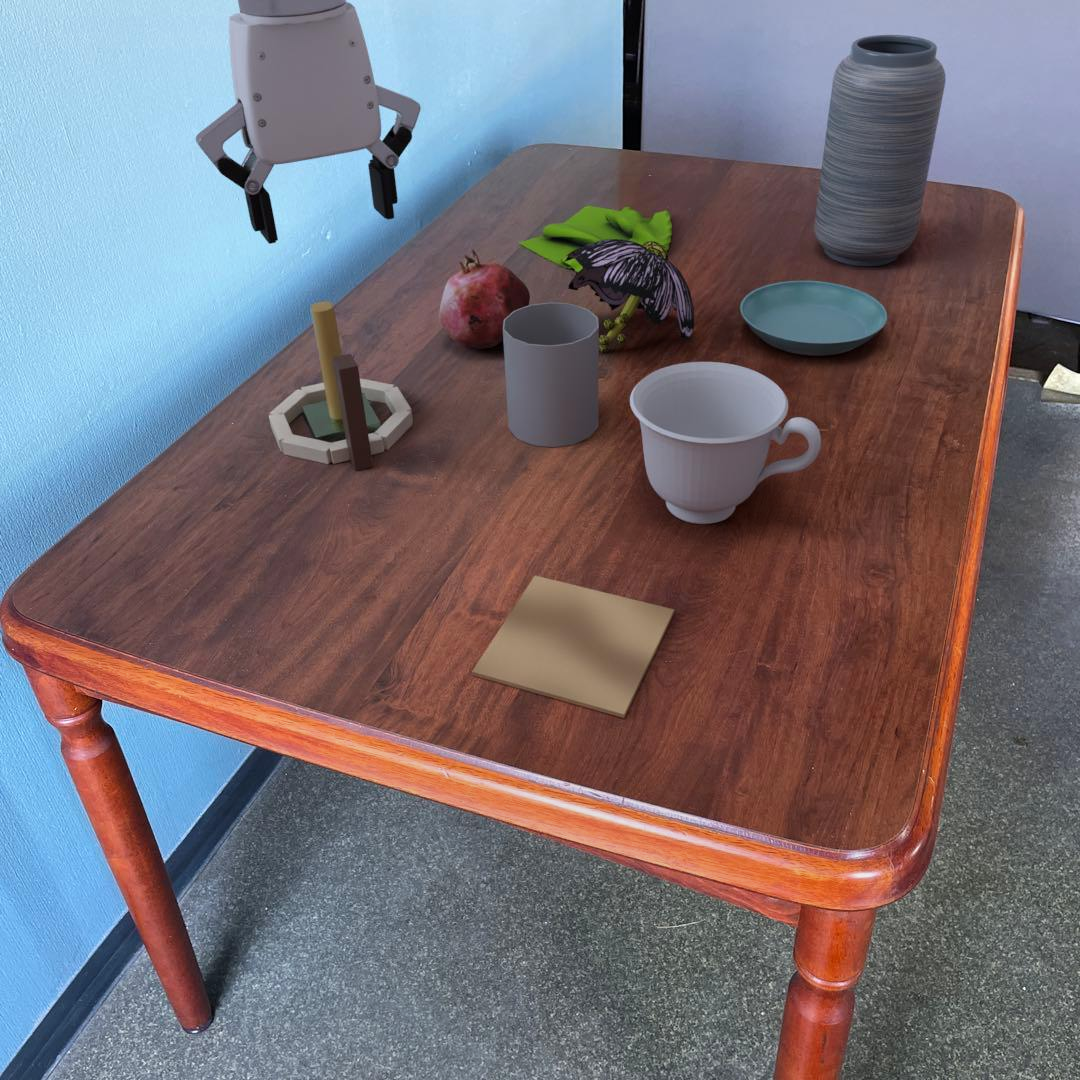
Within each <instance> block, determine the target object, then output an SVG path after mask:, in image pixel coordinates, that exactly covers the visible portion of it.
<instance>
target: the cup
mask: <svg viewBox="0 0 1080 1080" xmlns="http://www.w3.org/2000/svg"><path fill="white" fill-rule="evenodd" d="M599 331H600V330H599V317H598V316H597V315H596V314H594V313H593V312H592V311H591V310H590V309H588V308H585V307H582V306H579V305H577V304H574V303H573V304H572V303H564V302H553V301H552V302H551V301H550V302H543V303H534V304H529V306H526V307H523V308H521V309H518V310H515V311H513V312H512V313H511V314H510V315H509V316H508V317H506V318H505V319H504V323H503V341H502V342H503V355H504V357H503V358H504V375H505V390H506V408H507V424H508V425H507V426H508V427H507V428H508V431H510V433H511V434H512V435H513V436H514V437H515V438H516V439H517V440H518V441H521V442H524V443H526V444H528V445H530V446H536V447H545V448H558V447H565V446H566V447H567V446H573V445H576V444H578V443H580V442H582V441H585V440H587V439H589V438H591V437H592V436H593V434H594V433H595V432H596V431H597V429H598V428H599V367H600V365H599V361H600V359H599V351H600V350H599V344H600V343H599V337H600V335H599Z"/></svg>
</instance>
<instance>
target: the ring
mask: <svg viewBox="0 0 1080 1080" xmlns="http://www.w3.org/2000/svg"><path fill="white" fill-rule="evenodd" d="M332 359H333V365H334V371H335V377H336V383H337V389H338V395H339V401H340V407H341V413H342V419H343V425H344V431H345V437H346V439H345V440H341V441H337V442H333V443H330V442H326V441H321V440H316V439H314V438H313V437H308V436H307V437H306V436H302V435H297V434H293V431H292V429H291V427H290V423H292V422H293V421H294V420H295V419H297V417H299V416H300V415H301V414H303V411H302V406H305V405H310V404H314V403H319V402H323V401H327V399H326V393H325V387H324V382H320V383H315V384H310V385H306V386H301V387H300V389H298V388H297V389H295V390H294V391H293V392H292V393H291V394H289V395H288V396H287V397H286V398H285V399H284V400H283V401H282V402H280V403H279V404H278V405H277V406H275V408H273V409H272V410H271V411H269V415H268V419H269V424H270V429H271V431H272V432H273V436H274V438H275V441H276V443H277V447H278V448H279V451H280V452H281V453H283V455H285V456H289V457H294V458H299V459H302V460H306V461H307V460H308V461H311V462H316V463H321V464H325V465H330V464H331V463H332V464H333V465H336V464H339V463H344V462H349V461H350V462H351V465H352V467H353V468H354V470H355V472H357V471H362V470H365V469H369V468H373V467H374V464H373V463H374V462H373V457H372V456H373V455H377V454H381V453H384V452H385V450H386V451H389V450H390V449H391V448H392V447H393V446H394V445H395V443H397V441H398V440H399V439H400V438H401V437H402V436H403V435H404V434H405V433H406V432H407V431H408V430H409V429H410V428H411V427H412V426H413V422H414V419H413V410H412V408H411V406H410V404H409V403H408V401H407V400H406V398H405V397H404V395H403V393H402V392H401V390H400V388H399V386H396V385H395V384H391V383H387V382H382V381H376V380H371V379H366V378H360V377H361V376H360V371H359V365H358V363H357V362H356V360H355V359H354V357H353V355H352V353H346V354H342V355H341V356H336V357H332ZM362 393H364V394H365V396H366V398H367V400H368V401H369V402H370V401H372V402H376V403H382V404H386V406H387V407H388V409H389V411H390V412H391V415H390V417H388V419H386V420H385V421H384V422H383V423H382V425H381V427H380V428H379V429H378V430H377V431H376V432H375V433H371V434H368V430H367V423H366V416H365V410H364V403H363V397H362Z"/></svg>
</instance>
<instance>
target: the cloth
mask: <svg viewBox="0 0 1080 1080" xmlns="http://www.w3.org/2000/svg"><path fill="white" fill-rule="evenodd" d="M672 228H673V224H672V221H671V215H670V213H669V211H668V210H664V211H659V212H655V213H654V214H653V216H652V217H649V218H648V217H647V218H646V217H642V215H641V213H640V212H638V211H637V210H634V209H632V208H631V206H630V205H629V206H625V207H623V208H622V209H621V210H616V209H612V208H611V209H609V208H604V207H599V206H592V205H586V206H584V207H582V209H580V210H579V211H578V212H576V213H575V214H574V215H573V216H571V217H570V218H569V219H567V220H566V221H565V222H559V223H550V224H548V225H546V226H543V230H542V235H540V236H535V237H532V238H529V239H525V240H522V241H519V242H518V244H519V245H521V247H524V248H526V249H528V250H530V251H531V252H533V253H534V254H537V255H539V256H541V258H544V259H546V260H548V261H550V262H552V263H554V264H556V265H558V266H559V267H562V268H564V269H573V270H574V271H575V272H576V274H577V273H578V272H579V271H580V270H581V269H582V268H583V267H582V265H580V264H579V263H578V262H577V260H576V259H575V258H574V259H571V260H568V261H565V260H566V259H567V257H568V256H566V255H568V254H569V253H571V252H572V251H574V250H576V249H578V248H580V247H583V246H585V245H588V244H590V243H594V242H598V241H602V240H609V239H621V240H628V241H633V242H636V243H638V244H640V245H642V244H644V243H645V242H648V241H652V242H654V241H655V242H657V243H660V244H661V245H662V246H664V247H665V248H666V251H667V252H668V250H670V243H672V235H673V229H672ZM564 261H565V262H564Z"/></svg>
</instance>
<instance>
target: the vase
mask: <svg viewBox="0 0 1080 1080" xmlns="http://www.w3.org/2000/svg"><path fill="white" fill-rule="evenodd" d="M937 51H938V47H937V44H936V43H935V42H933V41H932V40H929V39H926V38H923V37H919V36H911V35H901V34H878V35H876V34H875V35H869V36H864V37H861V38H858V39H856V40H854V41H852V44H851V47H850V54H849V55H847V56H846V57H844V58H843V59H842V60H841V61H840V62H839V64H838V65H837V66H836V69H835V70H834V74H833V78H832V84H831V92H830V99H829V108H828V115H827V121H826V122H827V123H826V130H825V139H824V146H823V154H822V162H821V170H820V175H819V176H820V177H819V185H818V191H817V201H816V206H815V207H816V209H815V215H814V222H813V231H814V235H815V238H816V240H817V241H818V243H819V244H820V246H821V247H822V248H823V252H824V253H825V255H826V256H828V258H830V259H832V260H834V261H835V262H838V263H842V264H845V265H849V266H857V267H877V266H884V265H887V264H890V263H892V262H895V261H896V260H897V259H898V258H899V256H900V255H901V254H903V253H904V252H905V251H906V250H907V249H908V248H910V247H911V245H912V244H913V242H914V241H915V239H916V236H917V232H918V228H919V223H920V218H921V212H922V208H923V201H924V198H925V197H924V196H925V192H926V186H927V181H928V176H929V171H930V165H931V161H932V160H931V159H932V155H933V154H932V153H933V149H934V145H935V144H934V143H935V139H936V133H937V129H938V123H939V118H940V112H941V107H942V102H943V96H944V92H945V87H946V72H945V68H944V66H943V65H942V63H941V62H940V60H938V59H937V58H936V57H937Z"/></svg>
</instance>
